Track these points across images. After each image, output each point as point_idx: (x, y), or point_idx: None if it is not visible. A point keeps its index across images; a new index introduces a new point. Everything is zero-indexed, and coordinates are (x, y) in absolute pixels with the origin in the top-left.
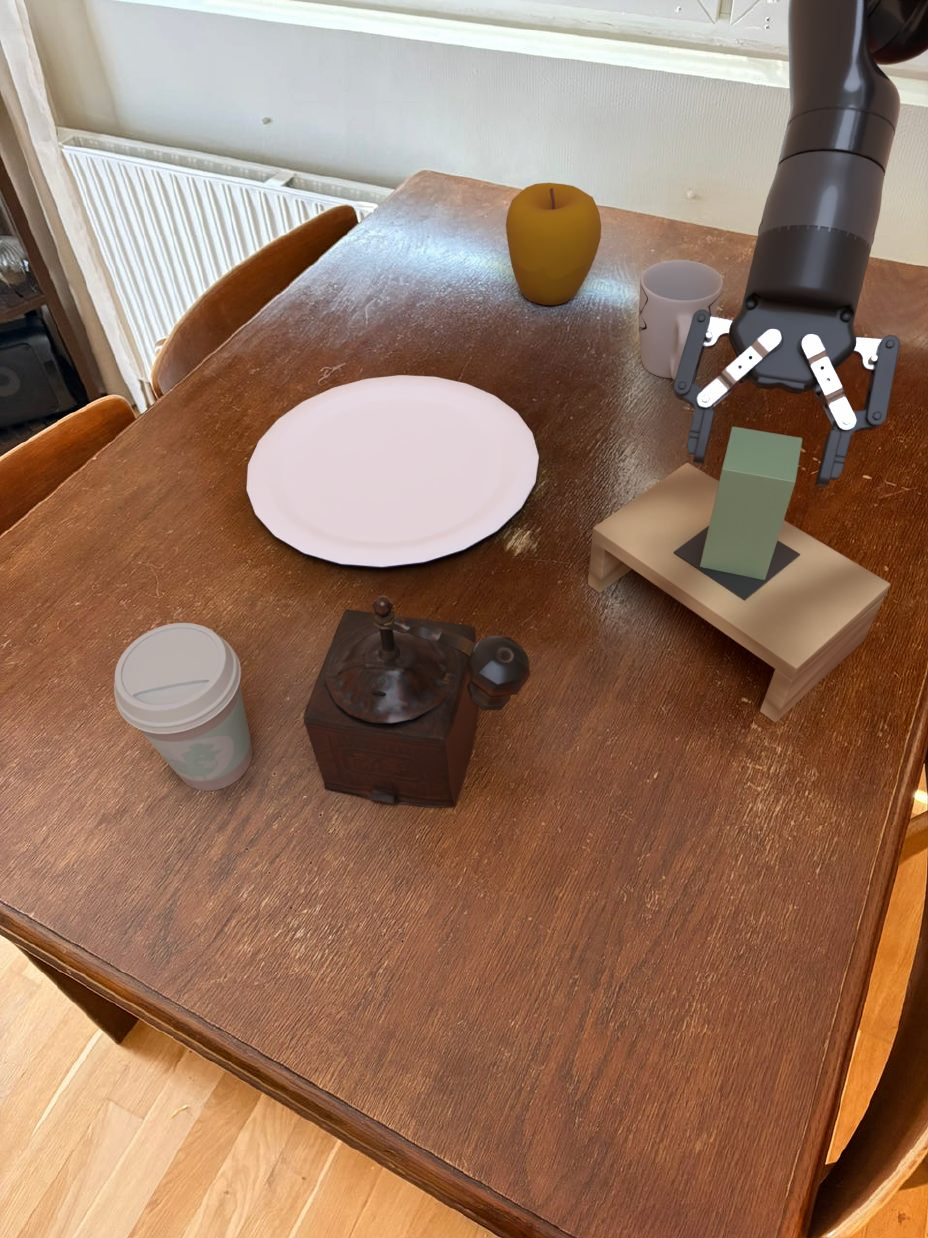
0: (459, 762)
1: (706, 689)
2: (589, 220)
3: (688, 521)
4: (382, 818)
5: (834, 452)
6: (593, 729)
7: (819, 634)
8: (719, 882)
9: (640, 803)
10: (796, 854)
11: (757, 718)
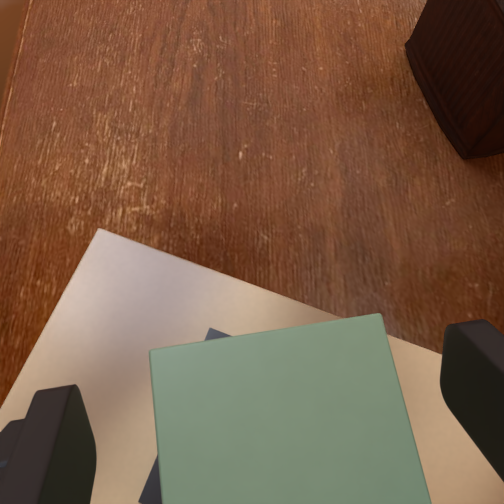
0: (430, 38)
1: None
2: None
3: None
4: None
5: (12, 473)
6: (327, 178)
7: (73, 309)
8: (144, 79)
9: (242, 120)
10: (77, 131)
11: None
